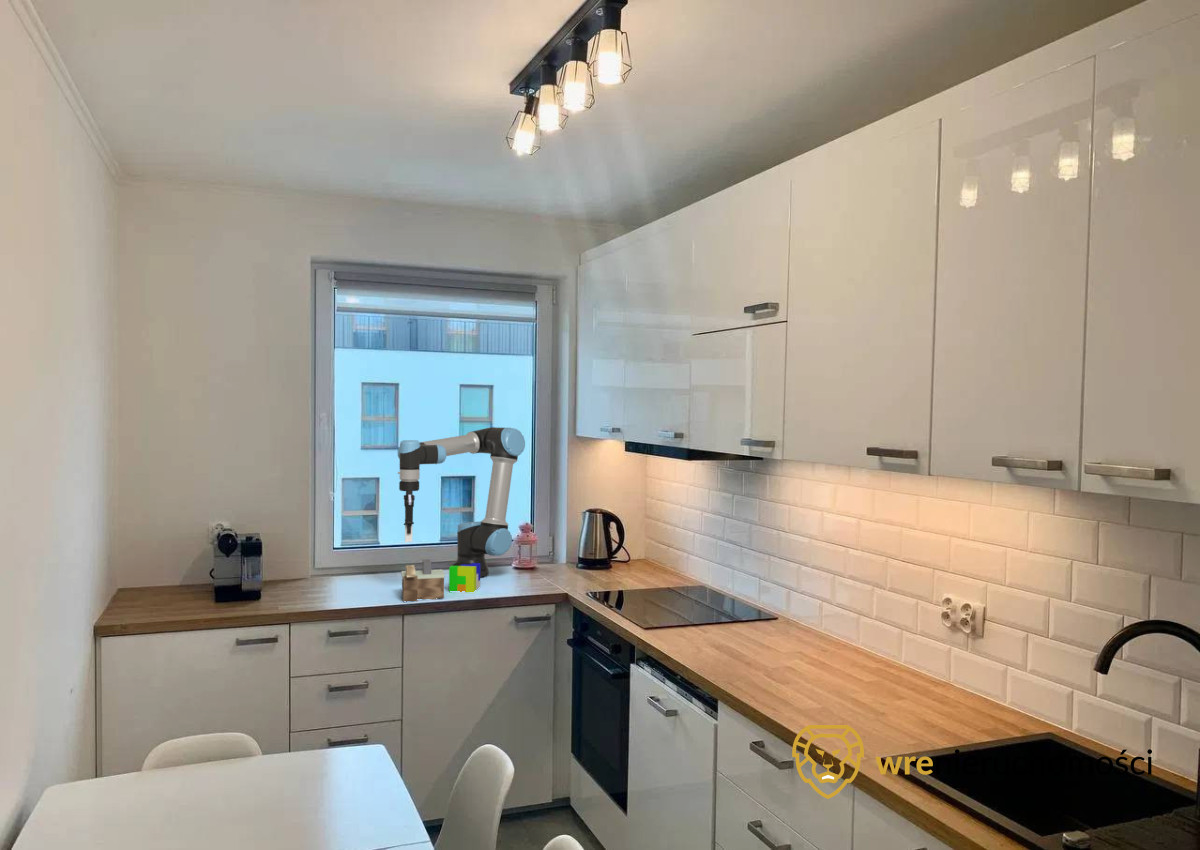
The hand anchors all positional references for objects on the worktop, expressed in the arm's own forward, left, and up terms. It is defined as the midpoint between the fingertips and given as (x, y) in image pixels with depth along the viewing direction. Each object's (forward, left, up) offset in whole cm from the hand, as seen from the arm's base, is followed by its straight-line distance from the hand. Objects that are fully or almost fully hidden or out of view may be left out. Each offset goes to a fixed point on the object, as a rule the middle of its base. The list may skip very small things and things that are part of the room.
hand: (408, 541), depth 330 cm
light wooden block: (0, +9, -11) cm, 15 cm away
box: (-5, +5, -21) cm, 22 cm away
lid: (-5, +4, -14) cm, 15 cm away
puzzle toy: (-22, -5, -21) cm, 31 cm away
